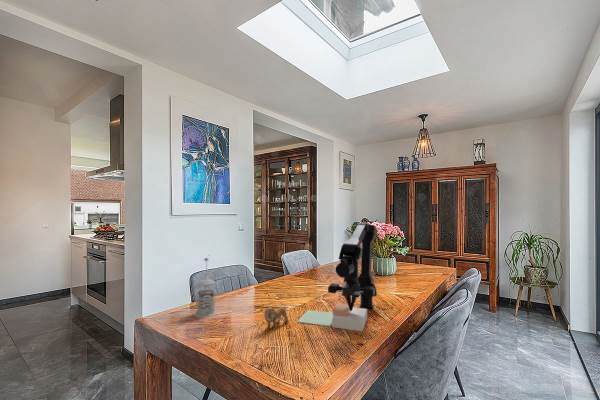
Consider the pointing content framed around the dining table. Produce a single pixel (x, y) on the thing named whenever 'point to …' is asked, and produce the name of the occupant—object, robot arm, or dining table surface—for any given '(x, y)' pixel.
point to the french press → (205, 299)
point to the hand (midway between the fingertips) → (351, 310)
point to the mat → (317, 318)
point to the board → (351, 320)
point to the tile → (341, 309)
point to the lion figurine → (275, 316)
